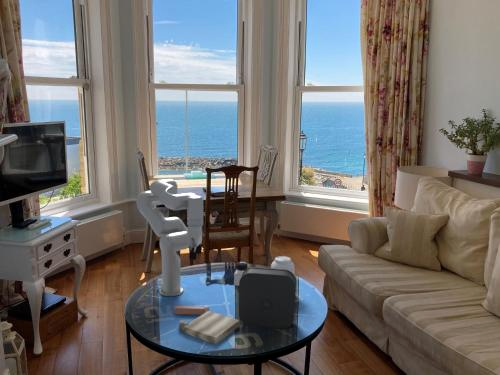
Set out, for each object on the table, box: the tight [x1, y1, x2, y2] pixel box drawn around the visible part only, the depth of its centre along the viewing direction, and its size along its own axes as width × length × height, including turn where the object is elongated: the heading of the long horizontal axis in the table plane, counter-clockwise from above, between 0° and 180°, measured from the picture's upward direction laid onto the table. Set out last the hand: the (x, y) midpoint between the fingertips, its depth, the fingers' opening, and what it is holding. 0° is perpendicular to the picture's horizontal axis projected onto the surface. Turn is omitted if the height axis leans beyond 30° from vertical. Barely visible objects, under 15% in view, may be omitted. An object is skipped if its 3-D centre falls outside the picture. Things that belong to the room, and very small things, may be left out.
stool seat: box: [178, 310, 240, 345], centre depth 193 cm, size 21×18×4 cm
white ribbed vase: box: [270, 255, 296, 275], centre depth 230 cm, size 12×12×20 cm
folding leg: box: [173, 305, 210, 316], centre depth 207 cm, size 16×3×4 cm, turn 89°
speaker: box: [238, 266, 297, 329], centre depth 197 cm, size 25×9×25 cm, turn 82°
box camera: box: [233, 261, 248, 287], centre depth 243 cm, size 7×7×12 cm
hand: (195, 256), depth 211 cm, fingers open, 9 cm apart
